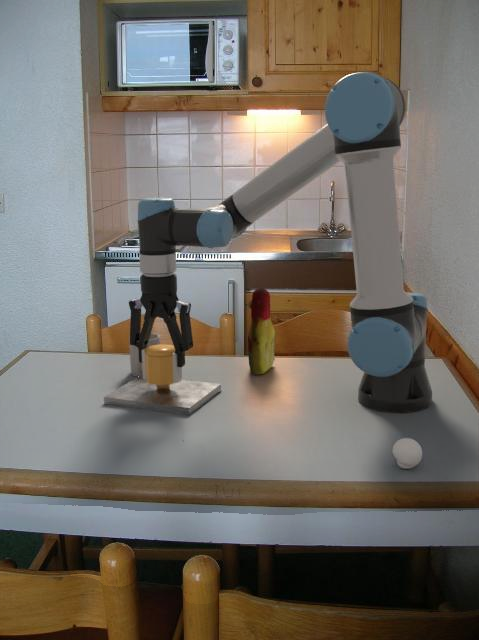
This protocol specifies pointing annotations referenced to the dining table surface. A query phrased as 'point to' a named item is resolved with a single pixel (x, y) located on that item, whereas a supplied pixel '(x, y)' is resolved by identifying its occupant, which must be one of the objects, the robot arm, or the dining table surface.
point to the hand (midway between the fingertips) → (162, 379)
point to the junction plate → (163, 395)
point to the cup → (134, 354)
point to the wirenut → (159, 364)
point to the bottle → (261, 333)
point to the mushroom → (407, 453)
